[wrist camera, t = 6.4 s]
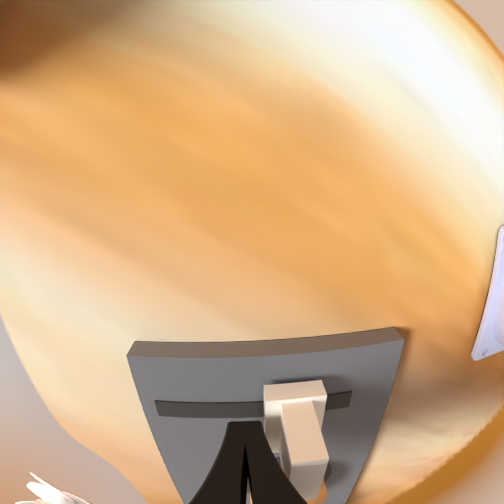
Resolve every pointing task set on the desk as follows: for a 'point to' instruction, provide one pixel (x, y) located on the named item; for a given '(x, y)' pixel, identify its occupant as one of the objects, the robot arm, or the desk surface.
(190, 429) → the panel
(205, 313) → the desk surface
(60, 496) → the lotus flower
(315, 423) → the toggle lever
